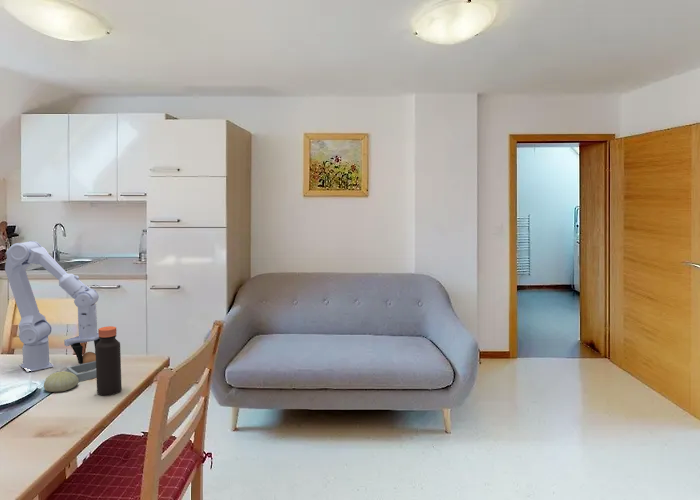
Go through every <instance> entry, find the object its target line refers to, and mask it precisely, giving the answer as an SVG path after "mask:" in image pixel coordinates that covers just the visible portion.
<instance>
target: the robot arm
mask: <svg viewBox="0 0 700 500" xmlns="http://www.w3.org/2000/svg"><path fill="white" fill-rule="evenodd" d="M5 255H6V260H5V261H6V262H5V265H4V271H5V275H6V277H7V279H8V283H9V286H10V288H11V292H12V294H13V297H14V301H15V303H16V306H17V310H18V312H19V315H20V318H21V319H20V320H19V323H18V328H19V332H18V333H19V334H18V338H19V340H20V342H21V343H22V344H23V346H22V348H21V349H22V351H21V352H22V363H21V364H19V366H20V368H22V369H23V368H27V369H30V370H31V372H35V371H40V370H45V369H49V368H54V364H53V363H51V362H50V345H49V344H50V342H49V335H51V333H52V325H51V324H50V322H48V320H47V319H46V316H45V315H43V314H42V313H41V312H40V310H39V308H38V304H37V301H36V298H35V295H34V292H33V289H32V286H31V284H30V280H29V277H28V275H27V271H26V270H27V268H28V267H29V266H30V265H31V264H34V265H40V266H41V267H42V268H43V269H45V270H46V271H47V272H48V273H49V274H51V276H53V277H54V278H56V279H57V280H58V286H59V287H60V288H61V289H62V290H64V291H65V292H66V293H67V294H68V295H69V296H70V297H71V298H72V299H74V300H73V301H74V302H73V303H74V305H75V306H76V307H77V325H78V335H77V336H74V337H71V338H70V337H69V338H67V339H63V342H64V343H63V344H64V346H66V347H71V349H72V350H73V352H74V355H75V356H76V359H77V362H78V365H80V364H83V359H82V355H83V351H84V346H83V345H82V344H83V343H88V342H93V345H94V347H95V346H96V344H97V343H98V342H99V341H100V338H99V335H98V322H97V321H98V317H97V316H98V315H97V314H98V313H97V302H98V301H99V294H98V292H97V291H96V289H94V288H90V287H89V286H88V285H86V284H85V283H84V282H83V281H82V280H80V276H79V275H78V274H77V275H75V274H74V273H67V271H66V270H65V269H64V268H63V266H61V265H60V264H59V263H58V262H57V260H55V259H54V257H52V256H51V255H50V253H49V252H48V251H47V249H46V247H44V246H42V245H41V244H40V242H38V241H36V240H29V241H25V242H24V241H23V242H16V243H13V244H11V246H10V247H9V248H8V249H7V250H6V252H5ZM94 353H95V354H96V350H95V349H94Z"/></svg>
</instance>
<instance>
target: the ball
mask: <svg viewBox="0 0 700 500" xmlns="http://www.w3.org/2000/svg"><path fill="white" fill-rule="evenodd" d="M82 359H83V364H84V363H89V362H93V361H96V354H95V352H92V351H87V352H85V353H82Z"/></svg>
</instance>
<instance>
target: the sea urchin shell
mask: <svg viewBox="0 0 700 500" xmlns="http://www.w3.org/2000/svg"><path fill="white" fill-rule="evenodd" d="M78 384H79V382H78V377H77V376H76V375H75V374H73V373H71V372H67V370H65V371H57V372H53V373H51V374H49V375H48V376H47V377H46V379H45V380H44V382H43V388H44V390H45V391H47V392H49V393H50V392H52V393H59V392H60V393H61V392H65V391H69V390H71V389H73V388H75V387H76V386H77V385H78Z"/></svg>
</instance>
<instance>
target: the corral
mask: <svg viewBox="0 0 700 500" xmlns="http://www.w3.org/2000/svg"><path fill="white" fill-rule="evenodd" d="M65 369H66V370H65V371H67V372H71V373H73V374H75V375H76V376H77V377H78V383H80V382H84V381H87V380H92V379H95V378H96V379H97V377H96V361H93V362H89V363H84V364H76V365H71V366H67V367H66V368H65Z"/></svg>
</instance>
